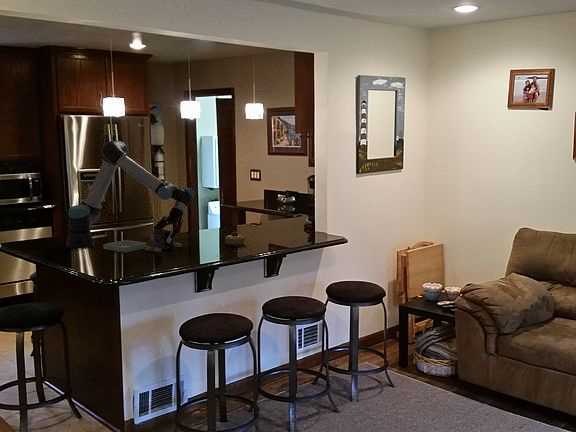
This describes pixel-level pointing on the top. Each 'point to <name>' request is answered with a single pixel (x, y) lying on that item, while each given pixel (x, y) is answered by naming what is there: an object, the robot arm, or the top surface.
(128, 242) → the tray
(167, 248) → the small box
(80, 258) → the top surface
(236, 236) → the pumpkin
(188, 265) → the top surface
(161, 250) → the oak cradle
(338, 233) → the top surface
